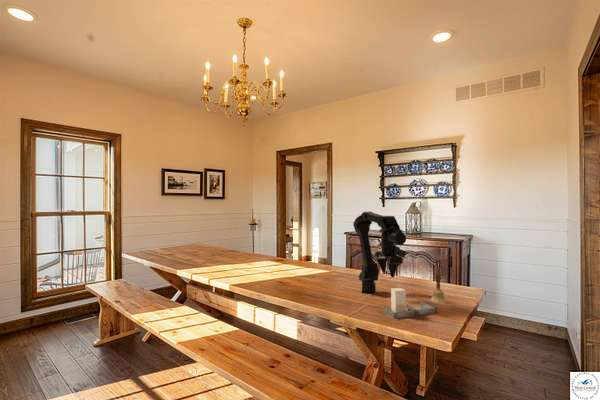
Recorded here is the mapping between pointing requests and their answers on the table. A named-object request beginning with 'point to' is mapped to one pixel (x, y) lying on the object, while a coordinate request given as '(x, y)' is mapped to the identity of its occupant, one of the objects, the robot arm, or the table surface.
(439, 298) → the hand bell
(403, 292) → the cream rectangular block
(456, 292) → the table surface
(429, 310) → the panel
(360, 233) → the robot arm
